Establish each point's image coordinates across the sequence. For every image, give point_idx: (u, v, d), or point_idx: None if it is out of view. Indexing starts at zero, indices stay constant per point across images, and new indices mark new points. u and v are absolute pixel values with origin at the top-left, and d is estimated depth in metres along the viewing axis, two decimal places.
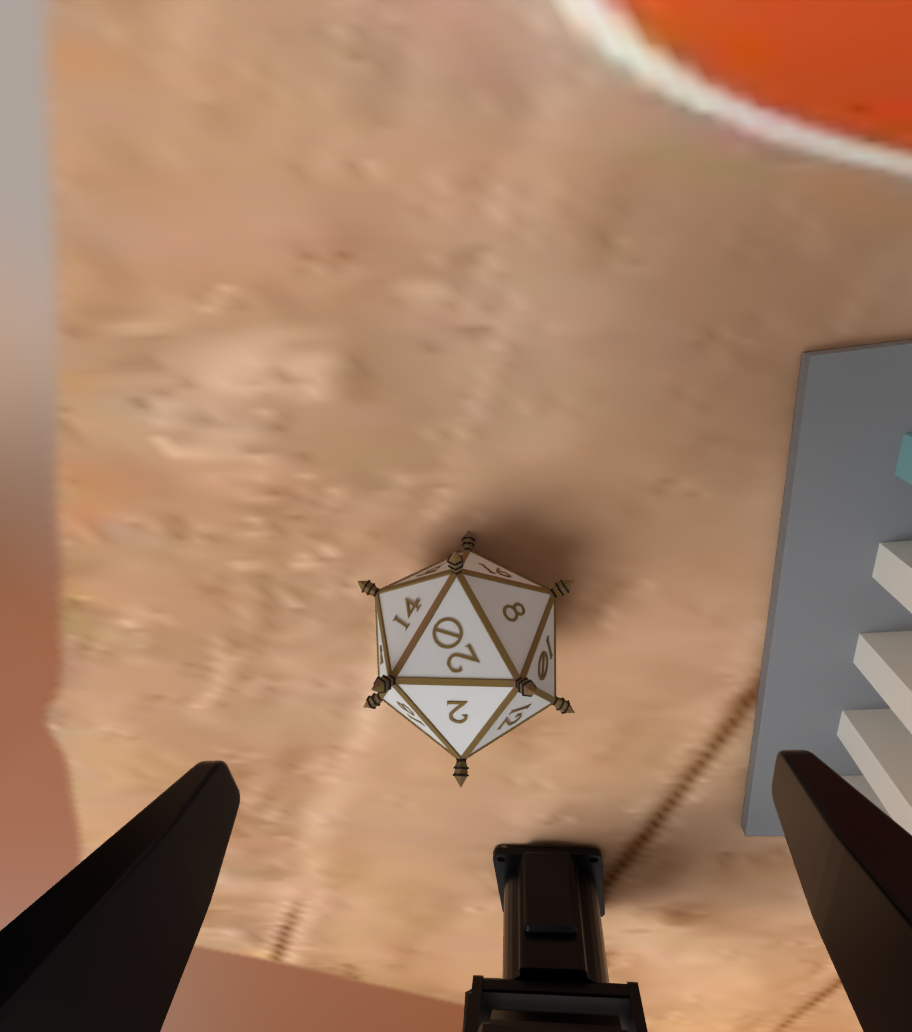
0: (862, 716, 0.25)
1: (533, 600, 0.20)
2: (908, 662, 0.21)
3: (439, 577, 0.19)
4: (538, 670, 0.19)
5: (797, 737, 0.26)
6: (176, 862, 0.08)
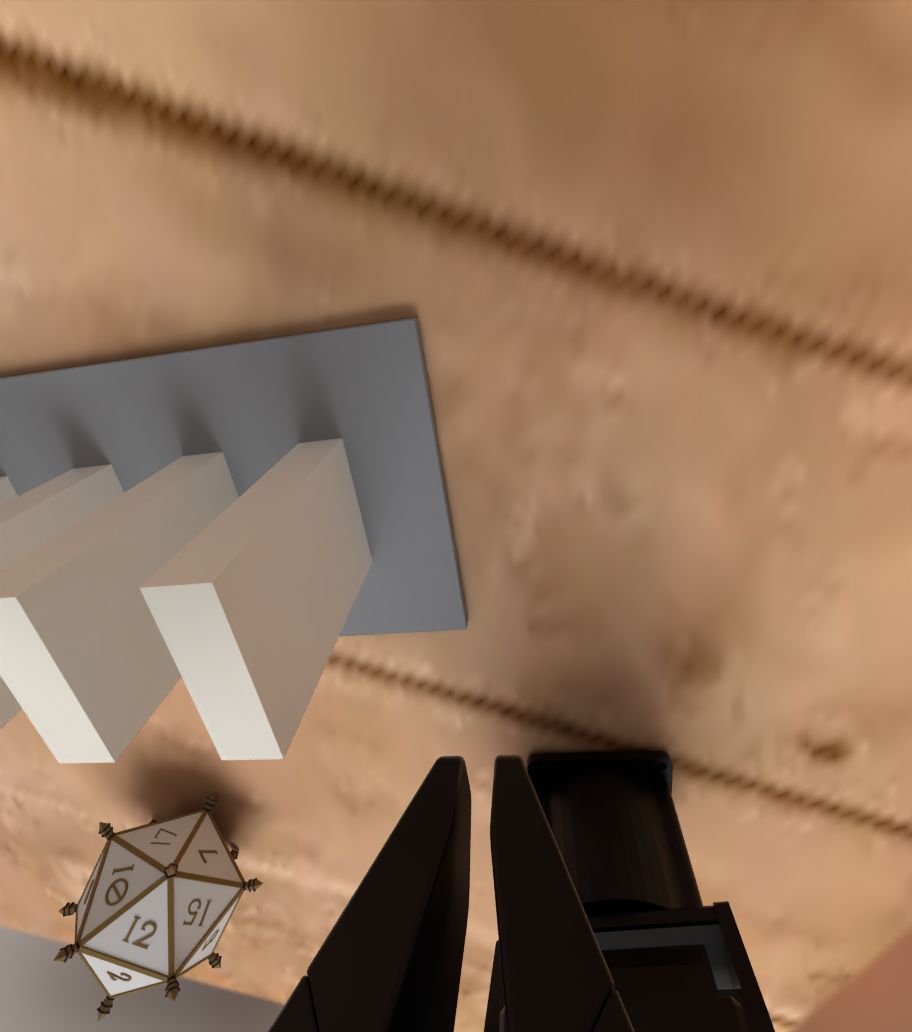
0: None
1: (100, 862, 0.26)
2: None
3: None
4: (107, 904, 0.24)
5: None
6: (454, 865, 0.07)
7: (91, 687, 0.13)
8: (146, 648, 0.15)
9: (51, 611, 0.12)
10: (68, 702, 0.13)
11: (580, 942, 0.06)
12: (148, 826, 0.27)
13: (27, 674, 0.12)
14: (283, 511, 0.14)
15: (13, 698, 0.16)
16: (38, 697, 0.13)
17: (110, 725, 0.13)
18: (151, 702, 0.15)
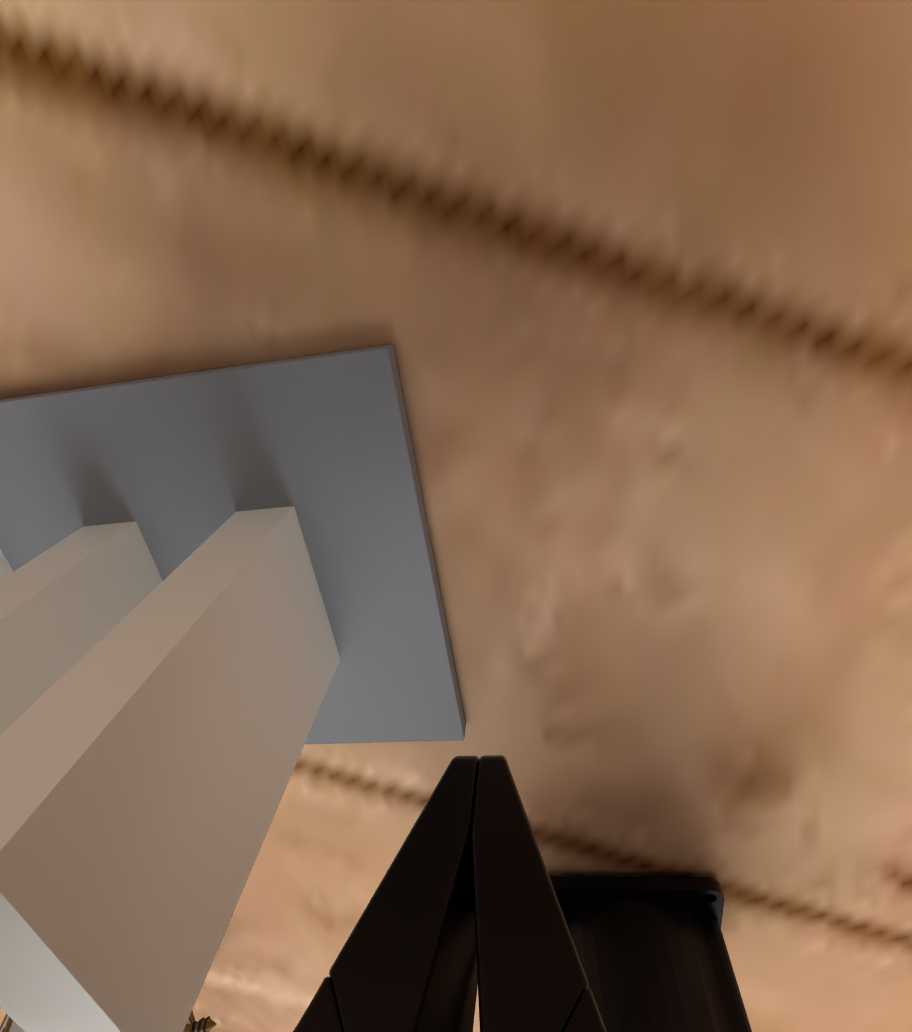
0: None
1: None
2: None
3: None
4: None
5: None
6: None
7: None
8: None
9: None
10: None
11: (556, 942, 0.06)
12: None
13: None
14: (177, 656, 0.09)
15: None
16: None
17: None
18: None
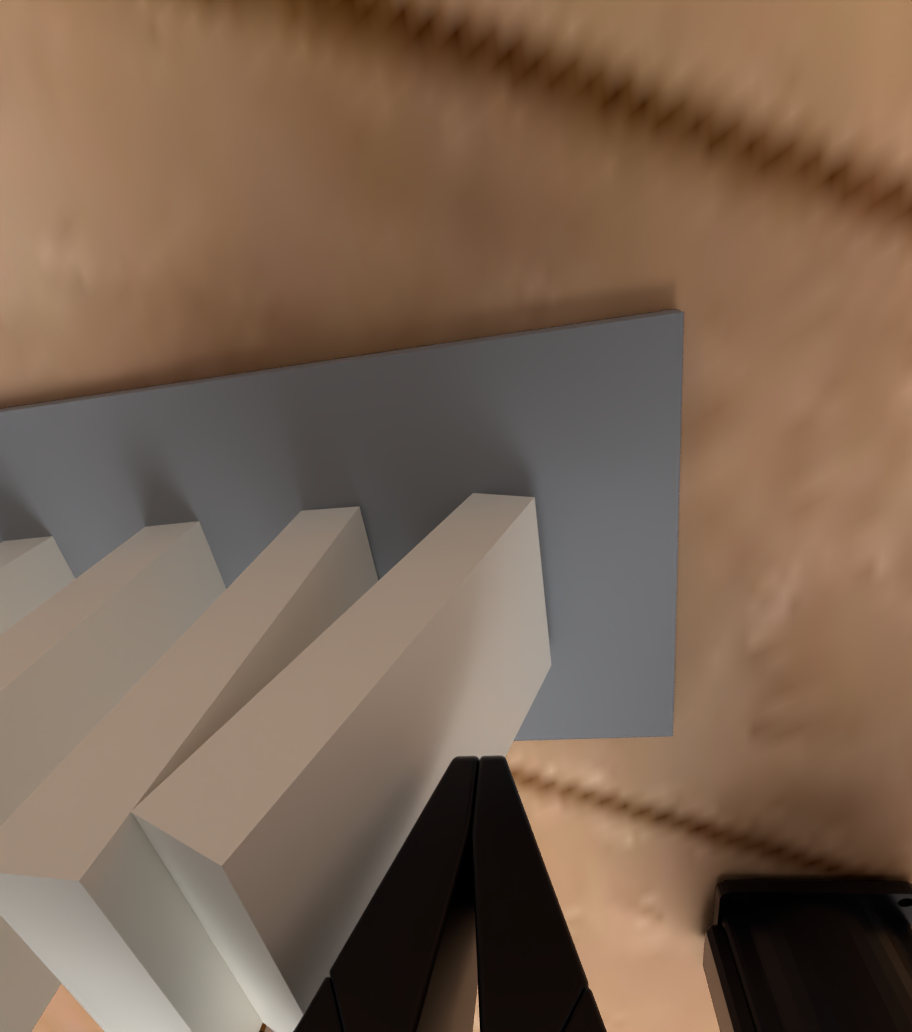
0: None
1: None
2: None
3: None
4: None
5: None
6: None
7: (203, 979, 0.07)
8: None
9: (142, 873, 0.06)
10: (166, 1017, 0.07)
11: (556, 941, 0.06)
12: None
13: (97, 975, 0.07)
14: (409, 656, 0.08)
15: None
16: (113, 1003, 0.07)
17: (229, 1028, 0.08)
18: None
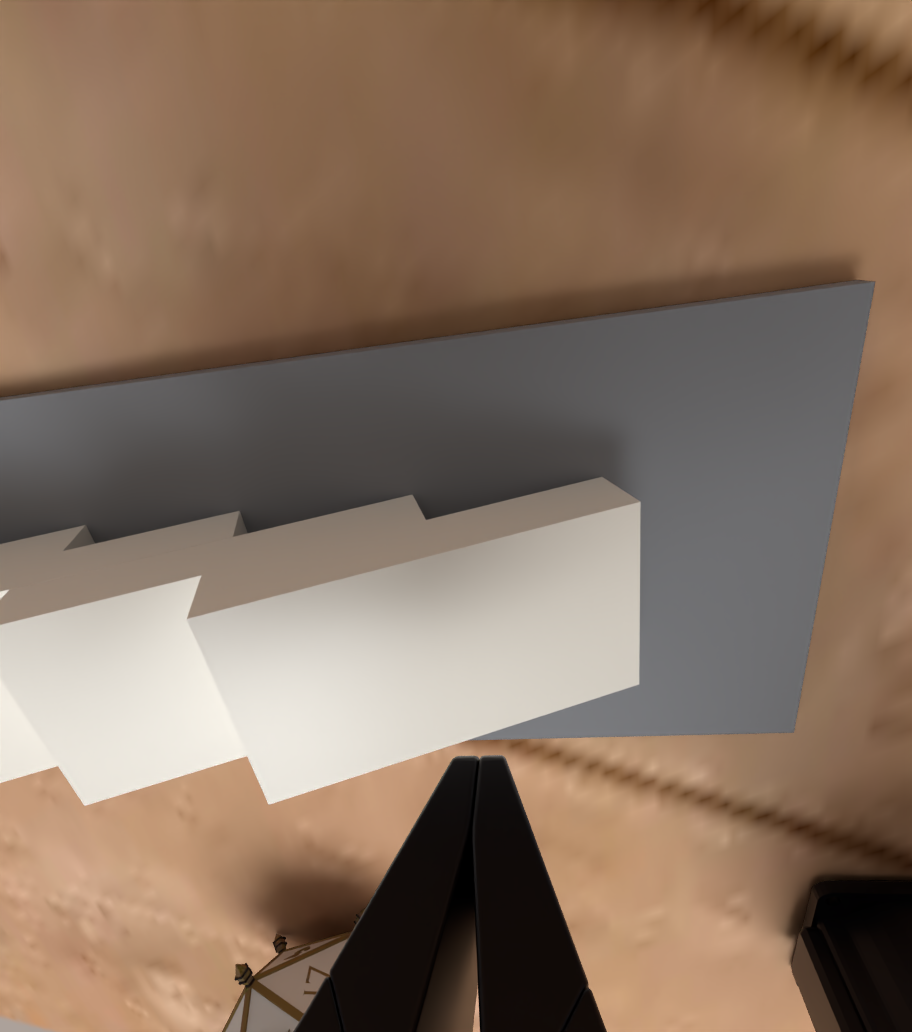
0: None
1: (238, 1019, 0.20)
2: None
3: None
4: None
5: None
6: (473, 865, 0.07)
7: (64, 735, 0.12)
8: (165, 724, 0.12)
9: (18, 656, 0.11)
10: None
11: (556, 941, 0.06)
12: (293, 963, 0.21)
13: None
14: (384, 576, 0.10)
15: None
16: None
17: (85, 774, 0.12)
18: (157, 773, 0.13)
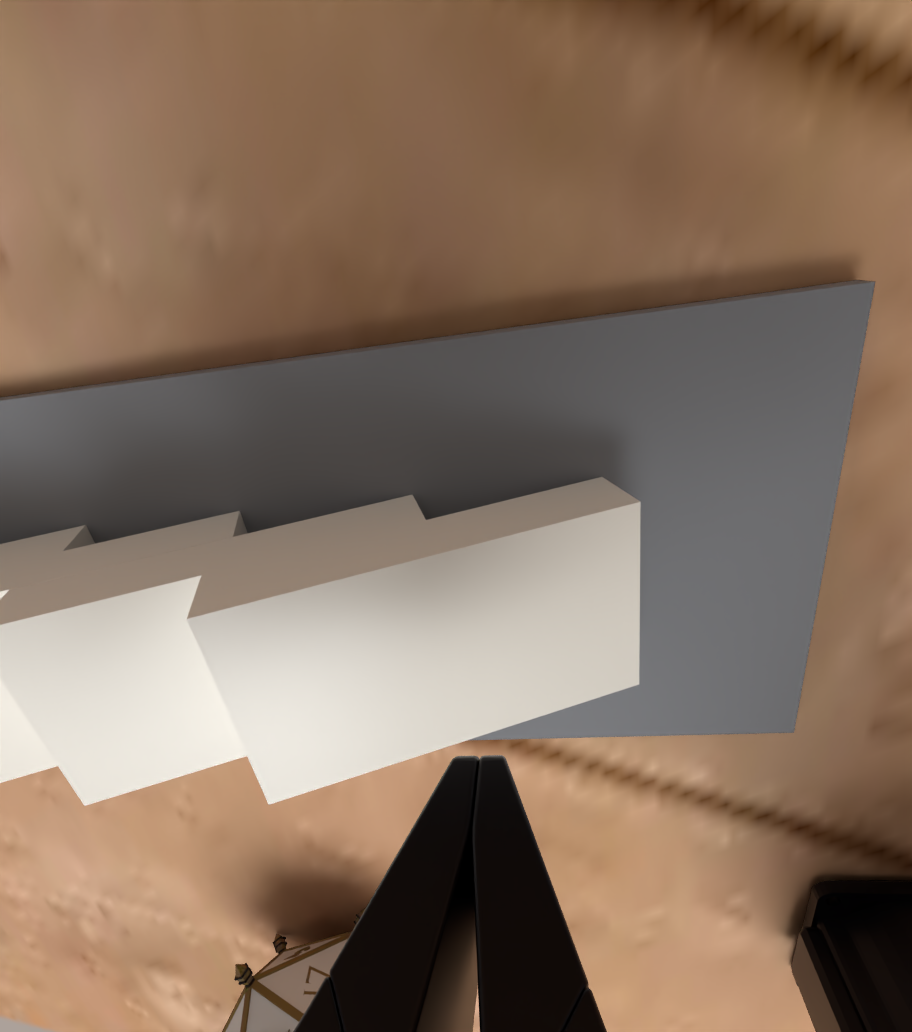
0: None
1: (238, 1019, 0.20)
2: None
3: None
4: None
5: None
6: (473, 865, 0.07)
7: (64, 735, 0.12)
8: (165, 724, 0.12)
9: (18, 656, 0.11)
10: None
11: (556, 941, 0.06)
12: (293, 963, 0.21)
13: None
14: (384, 576, 0.10)
15: None
16: None
17: (84, 774, 0.12)
18: (157, 773, 0.13)
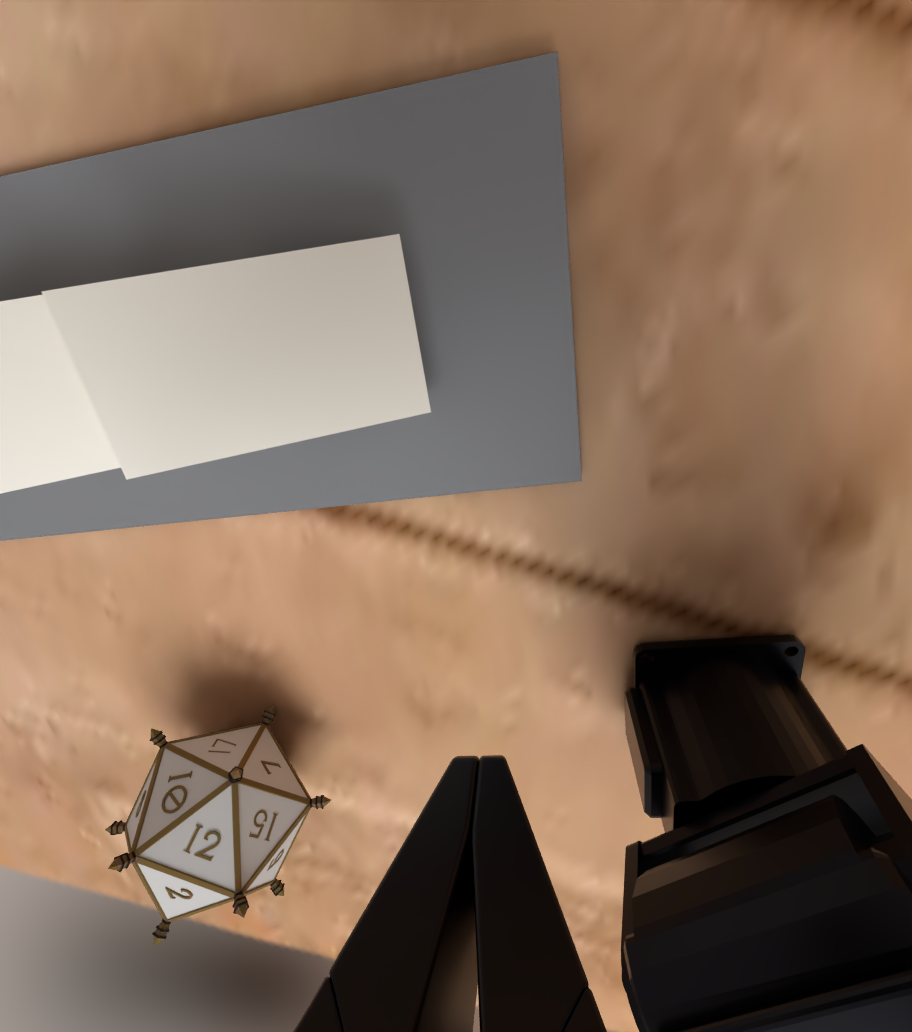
0: None
1: (152, 772, 0.23)
2: None
3: None
4: (164, 812, 0.21)
5: (364, 458, 0.19)
6: None
7: None
8: (49, 426, 0.16)
9: None
10: None
11: (556, 941, 0.06)
12: (203, 736, 0.24)
13: None
14: (194, 275, 0.14)
15: None
16: None
17: None
18: (47, 473, 0.16)
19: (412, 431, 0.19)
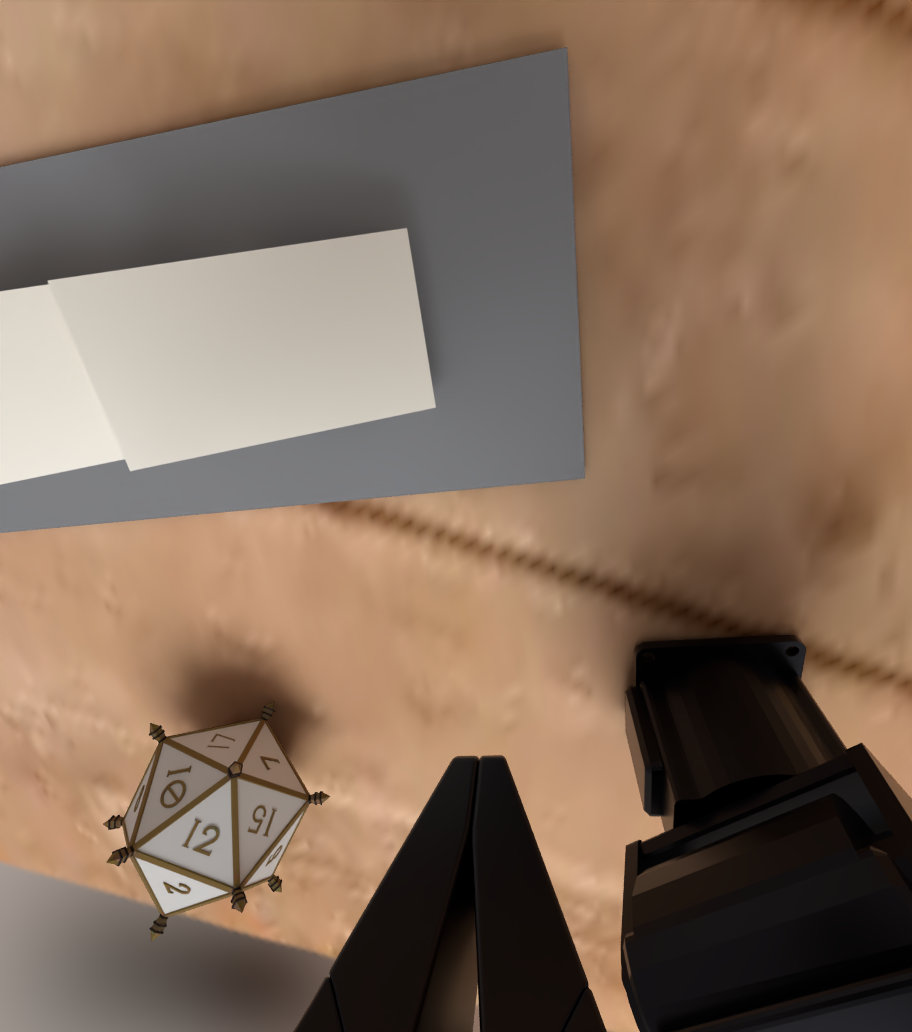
0: None
1: (151, 767, 0.23)
2: None
3: None
4: (163, 807, 0.21)
5: (367, 453, 0.19)
6: (473, 865, 0.07)
7: None
8: (53, 416, 0.16)
9: None
10: None
11: (556, 942, 0.06)
12: (202, 731, 0.24)
13: None
14: (201, 266, 0.14)
15: None
16: None
17: None
18: (50, 464, 0.16)
19: (416, 427, 0.19)
